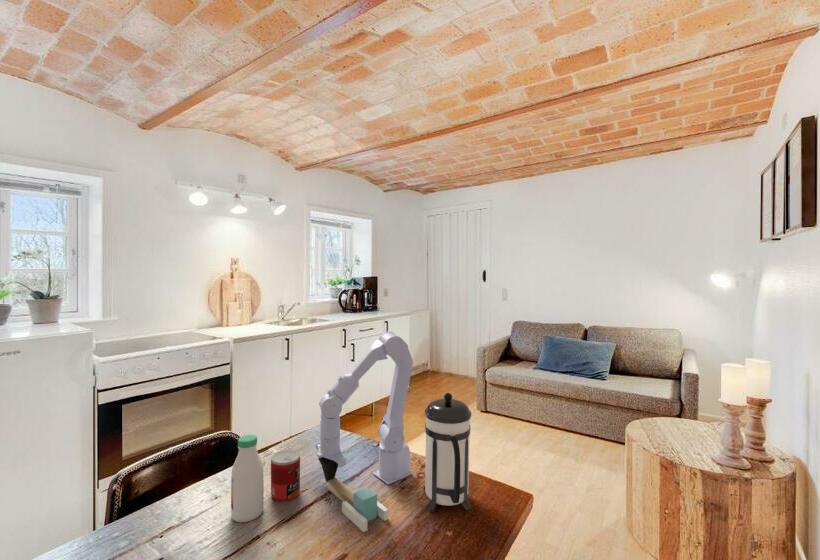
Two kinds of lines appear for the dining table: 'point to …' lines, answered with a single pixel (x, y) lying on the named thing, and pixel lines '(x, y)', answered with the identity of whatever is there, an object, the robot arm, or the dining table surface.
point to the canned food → (285, 475)
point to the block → (365, 503)
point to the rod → (341, 491)
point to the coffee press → (447, 452)
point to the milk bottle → (247, 481)
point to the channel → (358, 518)
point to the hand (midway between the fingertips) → (329, 480)
